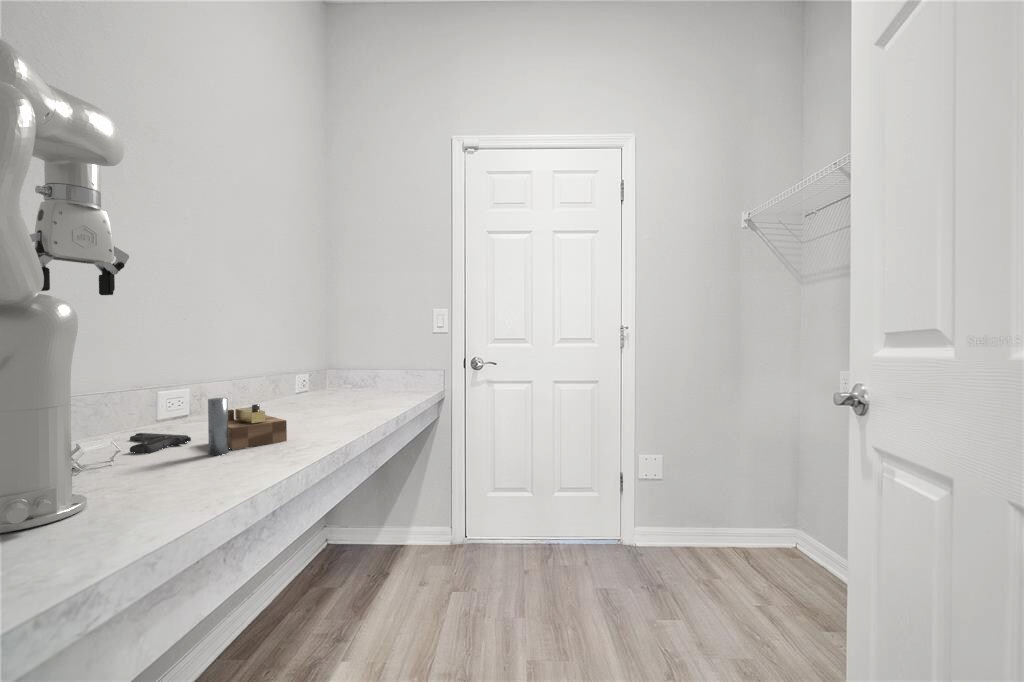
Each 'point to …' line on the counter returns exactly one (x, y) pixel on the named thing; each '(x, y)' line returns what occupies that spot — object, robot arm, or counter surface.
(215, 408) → the peg
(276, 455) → the counter surface
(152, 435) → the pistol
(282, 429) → the dock
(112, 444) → the white folding stand
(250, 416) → the bar
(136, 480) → the counter surface
